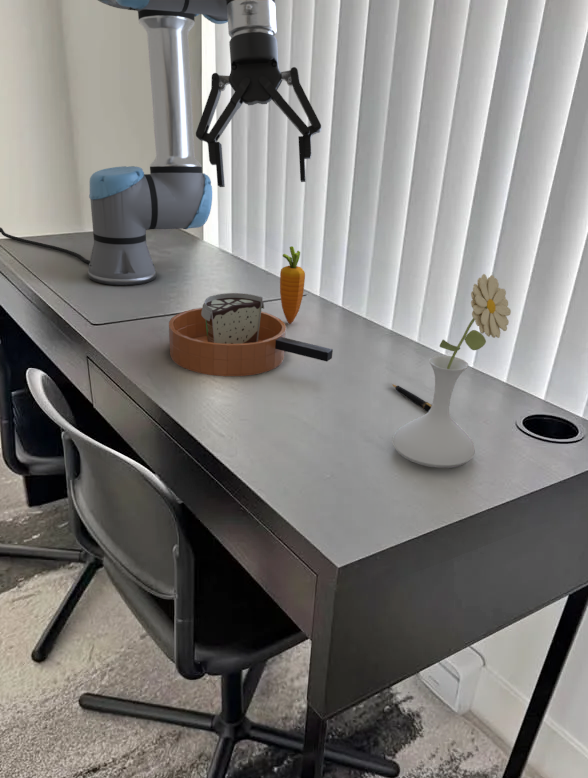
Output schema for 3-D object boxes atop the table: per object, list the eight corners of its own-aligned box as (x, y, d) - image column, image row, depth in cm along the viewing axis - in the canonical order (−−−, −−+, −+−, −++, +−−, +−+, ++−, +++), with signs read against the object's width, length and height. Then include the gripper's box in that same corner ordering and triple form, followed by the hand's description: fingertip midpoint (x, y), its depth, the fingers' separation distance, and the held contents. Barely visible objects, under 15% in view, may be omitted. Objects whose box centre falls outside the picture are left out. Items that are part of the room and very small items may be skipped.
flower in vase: (418, 482, 92) (452, 291, 79) (375, 442, 100) (400, 265, 87) (499, 467, 96) (544, 285, 83) (451, 430, 105) (485, 261, 92)
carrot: (299, 328, 140) (304, 252, 133) (275, 325, 141) (278, 249, 133) (304, 321, 145) (309, 246, 137) (280, 318, 145) (284, 243, 138)
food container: (240, 341, 131) (241, 288, 126) (262, 351, 128) (264, 296, 122) (187, 355, 123) (186, 299, 118) (209, 366, 120) (208, 308, 115)
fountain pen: (388, 388, 118) (389, 379, 117) (393, 387, 118) (394, 378, 118) (442, 423, 107) (444, 414, 107) (448, 422, 108) (450, 413, 107)
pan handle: (274, 348, 120) (274, 339, 119) (279, 345, 121) (280, 336, 121) (327, 361, 116) (327, 352, 115) (332, 358, 118) (332, 349, 117)
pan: (146, 358, 122) (144, 327, 119) (211, 327, 138) (211, 299, 135) (246, 386, 115) (247, 354, 112) (303, 350, 130) (305, 321, 127)
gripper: (169, 35, 107) (182, 185, 113) (332, 23, 106) (337, 176, 112) (179, 50, 114) (191, 190, 120) (332, 38, 113) (337, 181, 119)
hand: (262, 183), depth 116 cm, fingers open, 13 cm apart
